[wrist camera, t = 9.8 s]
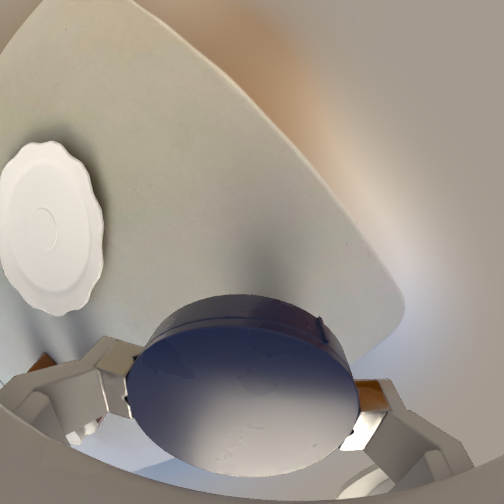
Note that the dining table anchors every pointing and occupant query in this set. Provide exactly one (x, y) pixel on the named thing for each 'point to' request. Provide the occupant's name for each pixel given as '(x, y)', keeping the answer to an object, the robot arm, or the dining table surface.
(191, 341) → the jar lid
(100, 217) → the plate
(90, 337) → the dining table surface
